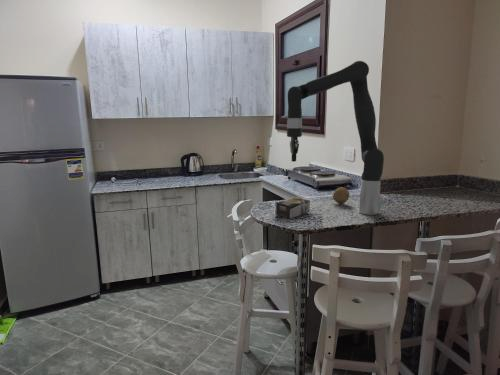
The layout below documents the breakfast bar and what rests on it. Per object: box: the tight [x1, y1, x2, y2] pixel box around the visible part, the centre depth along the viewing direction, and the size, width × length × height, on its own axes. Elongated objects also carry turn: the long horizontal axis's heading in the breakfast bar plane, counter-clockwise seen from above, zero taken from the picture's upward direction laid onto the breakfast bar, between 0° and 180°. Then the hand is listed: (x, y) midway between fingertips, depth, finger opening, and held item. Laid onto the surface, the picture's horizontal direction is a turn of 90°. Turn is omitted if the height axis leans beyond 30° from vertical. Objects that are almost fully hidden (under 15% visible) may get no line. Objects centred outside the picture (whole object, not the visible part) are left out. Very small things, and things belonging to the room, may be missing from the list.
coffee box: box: [275, 196, 311, 220], centre depth 179 cm, size 9×6×16 cm
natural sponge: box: [332, 186, 350, 205], centre depth 199 cm, size 9×9×10 cm
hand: (293, 161), depth 184 cm, fingers closed
